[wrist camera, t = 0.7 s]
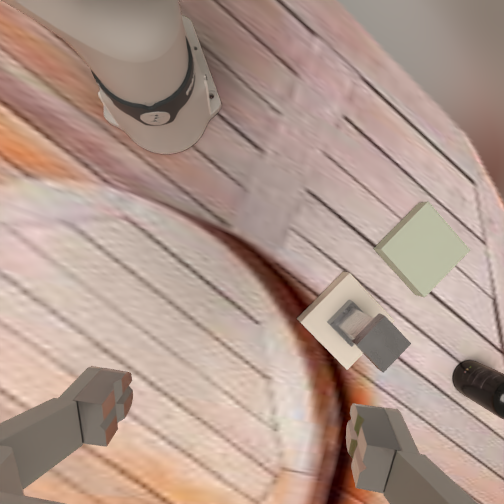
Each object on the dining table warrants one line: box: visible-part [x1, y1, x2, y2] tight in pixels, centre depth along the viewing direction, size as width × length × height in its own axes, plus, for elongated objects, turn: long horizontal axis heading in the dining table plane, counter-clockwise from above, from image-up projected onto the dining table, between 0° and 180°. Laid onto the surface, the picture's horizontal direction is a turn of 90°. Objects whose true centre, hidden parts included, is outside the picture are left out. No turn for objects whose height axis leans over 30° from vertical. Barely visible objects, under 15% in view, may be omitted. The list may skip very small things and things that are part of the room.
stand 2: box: [374, 202, 470, 297], centre depth 52 cm, size 12×12×2 cm
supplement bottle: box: [453, 361, 504, 419], centre depth 49 cm, size 7×7×12 cm
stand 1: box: [297, 271, 394, 370], centre depth 51 cm, size 12×12×2 cm
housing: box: [327, 300, 411, 373], centre depth 44 cm, size 6×6×11 cm
